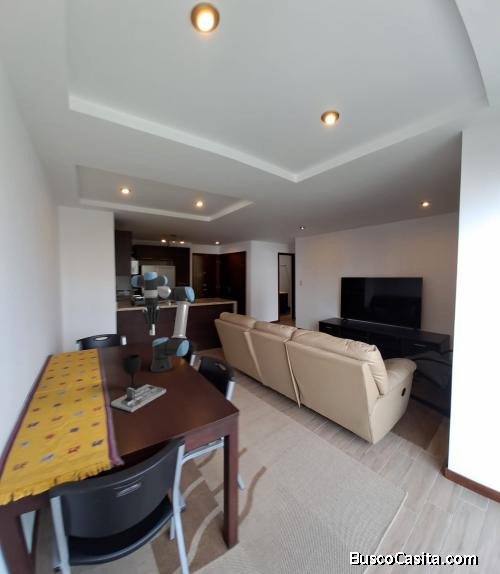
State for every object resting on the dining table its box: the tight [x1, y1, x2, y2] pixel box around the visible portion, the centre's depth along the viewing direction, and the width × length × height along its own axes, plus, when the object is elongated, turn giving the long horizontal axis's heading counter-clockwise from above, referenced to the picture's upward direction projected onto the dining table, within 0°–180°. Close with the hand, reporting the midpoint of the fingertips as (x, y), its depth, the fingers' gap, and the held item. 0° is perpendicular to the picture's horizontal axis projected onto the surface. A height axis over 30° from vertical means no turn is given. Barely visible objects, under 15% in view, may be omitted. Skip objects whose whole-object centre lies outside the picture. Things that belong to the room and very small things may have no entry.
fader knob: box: [126, 387, 135, 401], centre depth 133 cm, size 2×4×6 cm, turn 65°
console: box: [110, 384, 167, 413], centre depth 138 cm, size 24×16×3 cm, turn 155°
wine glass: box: [122, 354, 143, 392], centre depth 152 cm, size 10×10×20 cm
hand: (152, 334), depth 149 cm, fingers closed
